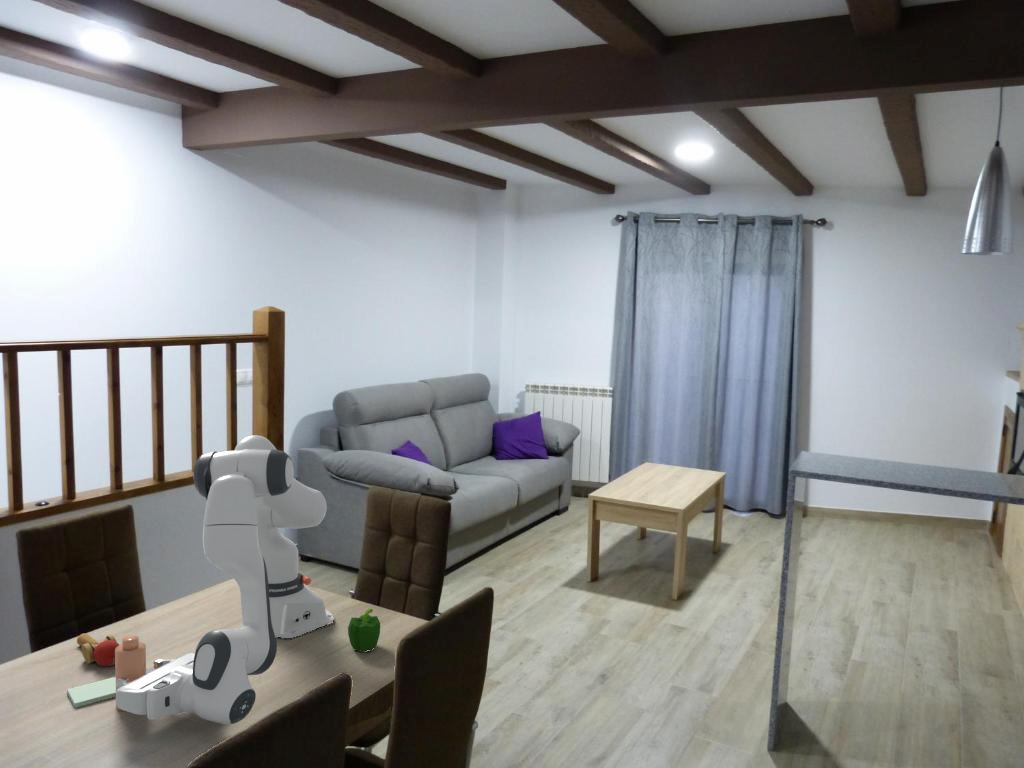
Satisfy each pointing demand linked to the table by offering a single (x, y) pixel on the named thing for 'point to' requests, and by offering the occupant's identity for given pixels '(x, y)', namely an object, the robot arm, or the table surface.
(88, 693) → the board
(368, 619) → the bell pepper
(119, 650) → the bottle
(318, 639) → the table surface
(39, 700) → the table surface
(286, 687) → the table surface
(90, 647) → the kendama
